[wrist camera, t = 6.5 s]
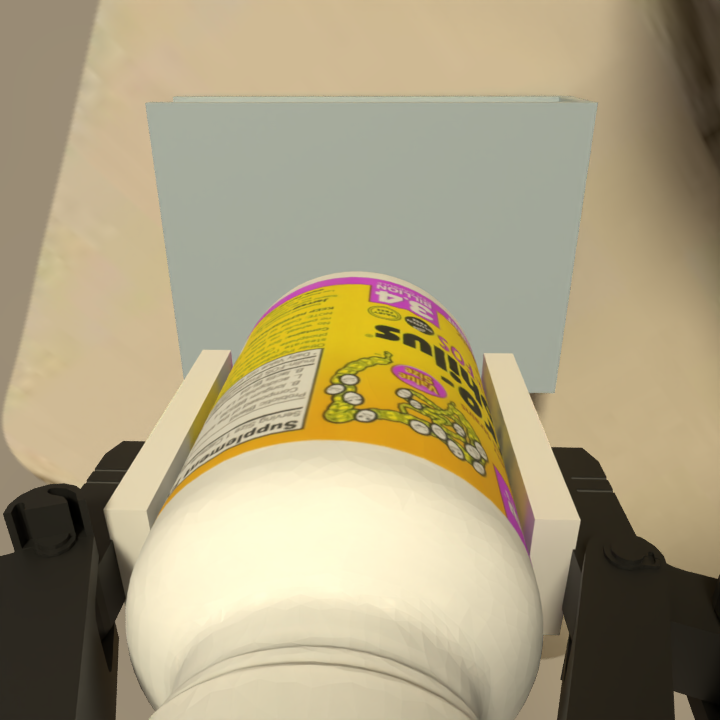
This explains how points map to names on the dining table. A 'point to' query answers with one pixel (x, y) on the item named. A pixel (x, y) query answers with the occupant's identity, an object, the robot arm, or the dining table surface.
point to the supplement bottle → (341, 529)
